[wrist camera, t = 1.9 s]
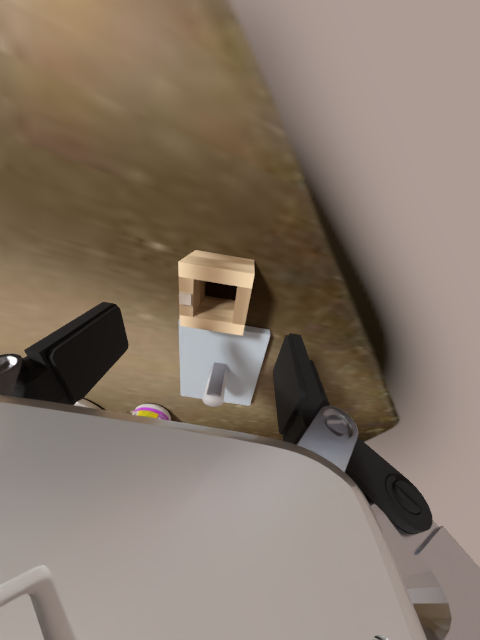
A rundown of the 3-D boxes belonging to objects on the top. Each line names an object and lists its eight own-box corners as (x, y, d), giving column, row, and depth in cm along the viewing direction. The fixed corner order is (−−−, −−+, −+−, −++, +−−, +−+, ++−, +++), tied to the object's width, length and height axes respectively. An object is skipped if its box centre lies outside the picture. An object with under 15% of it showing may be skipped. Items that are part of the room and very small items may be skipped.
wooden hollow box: (254, 260, 18) (254, 275, 14) (244, 311, 22) (242, 337, 17) (195, 250, 18) (176, 262, 14) (194, 303, 21) (178, 327, 17)
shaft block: (249, 399, 30) (249, 438, 25) (183, 389, 30) (168, 426, 24) (269, 329, 23) (274, 364, 18) (182, 315, 22) (161, 346, 17)
